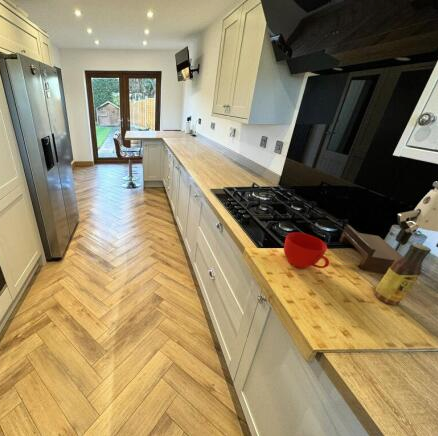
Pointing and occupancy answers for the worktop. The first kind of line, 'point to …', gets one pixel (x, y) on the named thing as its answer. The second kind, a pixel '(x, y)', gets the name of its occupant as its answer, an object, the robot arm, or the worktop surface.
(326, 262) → the ceramic cup
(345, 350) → the worktop surface
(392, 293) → the sauce bottle
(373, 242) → the brown wooden stand
